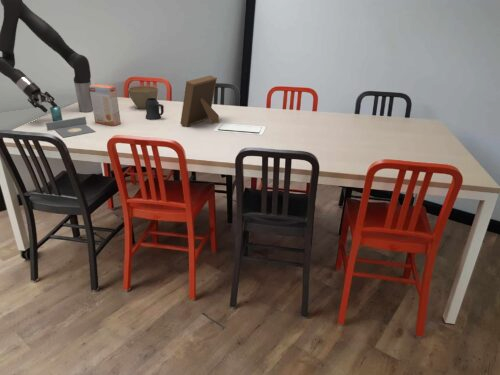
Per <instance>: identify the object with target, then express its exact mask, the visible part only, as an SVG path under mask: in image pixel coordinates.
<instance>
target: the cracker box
mask: <svg viewBox="0 0 500 375" xmlns="http://www.w3.org/2000/svg"><path fill="white" fill-rule="evenodd" d="M89 89H90V95H91V101H92V107H93V111H92V112H93V117H94V118H93V120H94V123H95V124H101V125H106V126H111V127H112V126H113V127H115V126H118V125H120V124H122V122H121V121H122V120H121V115H120V108H119V101H118V100H119V99H118V92H117V86H115V85H106V84H99V83H95V84H91V85H90V86H89Z"/></svg>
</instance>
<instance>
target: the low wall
mask: <svg viewBox="0 0 500 375" xmlns="http://www.w3.org/2000/svg"><path fill="white" fill-rule="evenodd" d="M83 124H86V125H87V124H88V123H87V120H86V116H82V117H80V116H79V117H74V118H68V119H63V120H61V121H54V122H53V121H49V122H45V125H46V126H45V127H46V130H47V131H55V130H54V129H59V128H65V127H71V126H77V125H83Z"/></svg>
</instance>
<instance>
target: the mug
mask: <svg viewBox="0 0 500 375" xmlns="http://www.w3.org/2000/svg"><path fill="white" fill-rule="evenodd" d="M145 105H146V109H145V110H146V114H145V119H146V120H148V121H156V120H160V119H162V115H164V112H165V111H164V107H165V106H164V104H161V103H160V102H159V101H158V99H157V98H147V99H146V102H145Z"/></svg>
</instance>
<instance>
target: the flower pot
mask: <svg viewBox="0 0 500 375" xmlns="http://www.w3.org/2000/svg"><path fill="white" fill-rule="evenodd" d="M127 90H128V94H129V98H130V99H131V101H132V102H133V104H134V105H135V106H136V107H137V108H138V109H140V110H146V105H145V102H146V99H147V98H156V99H157V98H158V93H159V92H158V91H159V89H158V87H157V86H151V85H137V86H132V87H129V88H128V89H127Z"/></svg>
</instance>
